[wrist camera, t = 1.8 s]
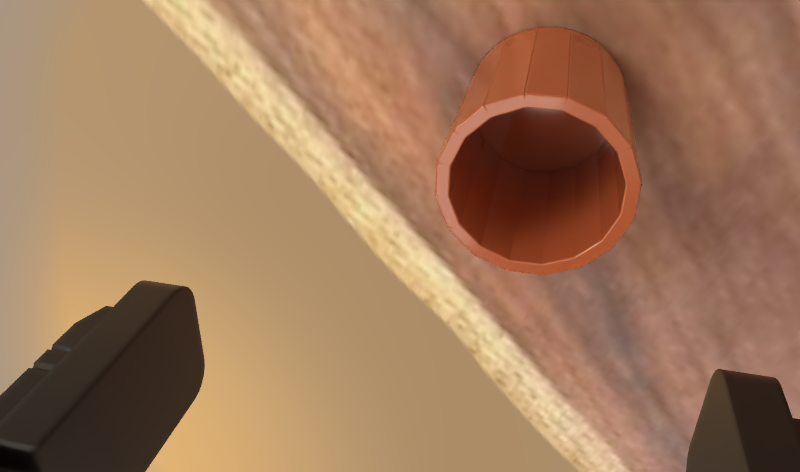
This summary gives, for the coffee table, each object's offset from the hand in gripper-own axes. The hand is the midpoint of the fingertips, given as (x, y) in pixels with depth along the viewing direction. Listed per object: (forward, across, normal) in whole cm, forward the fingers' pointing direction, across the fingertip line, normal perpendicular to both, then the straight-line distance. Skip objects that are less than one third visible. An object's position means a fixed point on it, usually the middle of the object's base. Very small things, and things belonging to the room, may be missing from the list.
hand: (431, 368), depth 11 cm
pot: (+19, -1, +2) cm, 19 cm away
